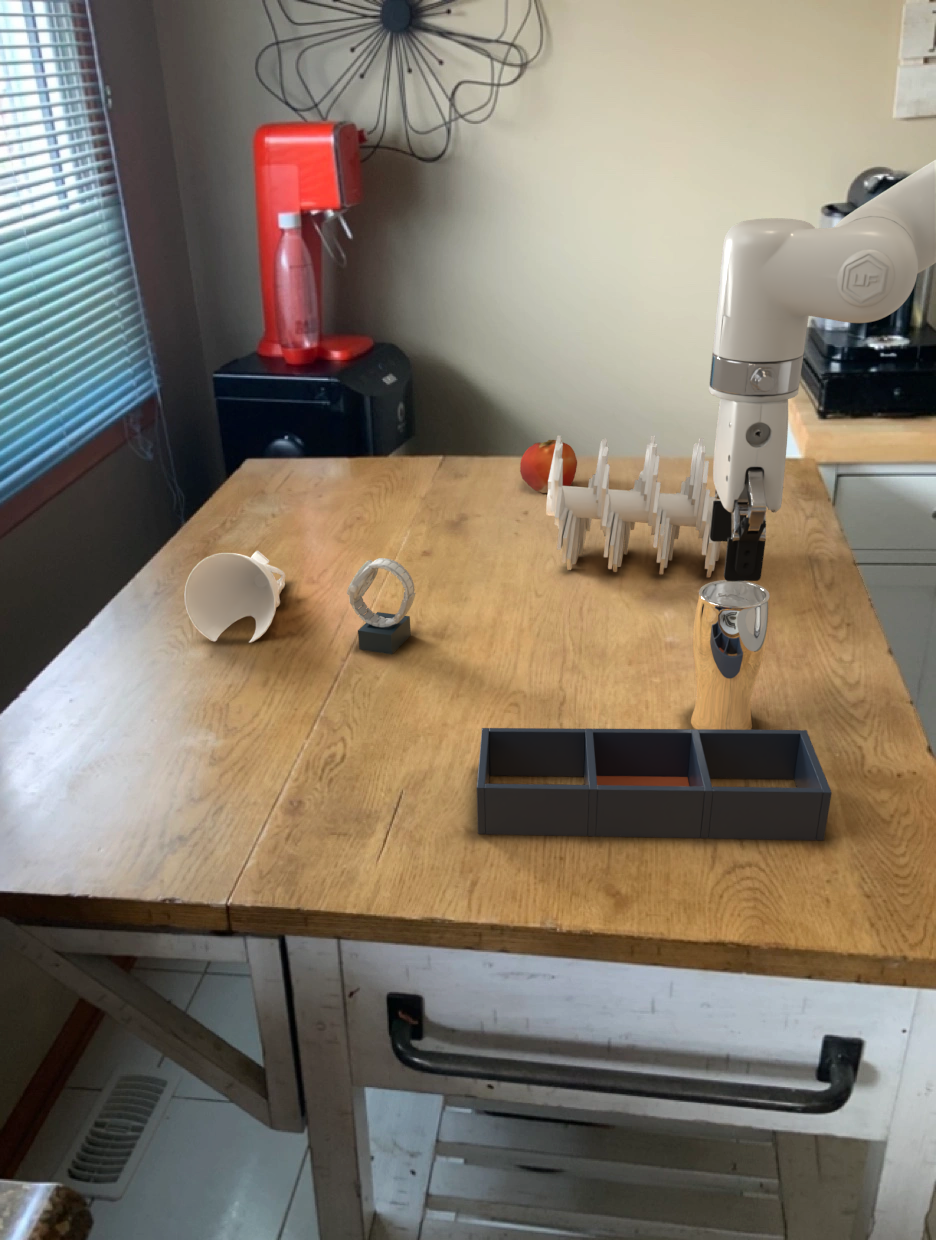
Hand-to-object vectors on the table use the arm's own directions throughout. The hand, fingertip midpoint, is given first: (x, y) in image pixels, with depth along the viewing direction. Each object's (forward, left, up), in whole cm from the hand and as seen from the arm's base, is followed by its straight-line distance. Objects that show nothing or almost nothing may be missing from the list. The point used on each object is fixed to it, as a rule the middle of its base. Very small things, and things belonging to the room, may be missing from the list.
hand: (733, 559), depth 106 cm
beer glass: (0, 0, -19) cm, 19 cm away
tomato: (+17, -77, -19) cm, 81 cm away
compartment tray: (+9, +15, -18) cm, 25 cm away
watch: (+37, -19, -19) cm, 45 cm away
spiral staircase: (+5, -43, -19) cm, 47 cm away
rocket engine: (+54, -28, -19) cm, 63 cm away
